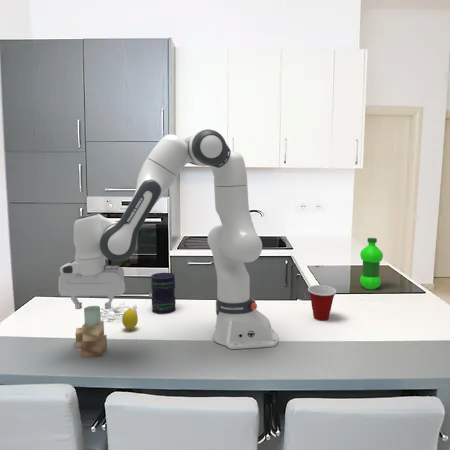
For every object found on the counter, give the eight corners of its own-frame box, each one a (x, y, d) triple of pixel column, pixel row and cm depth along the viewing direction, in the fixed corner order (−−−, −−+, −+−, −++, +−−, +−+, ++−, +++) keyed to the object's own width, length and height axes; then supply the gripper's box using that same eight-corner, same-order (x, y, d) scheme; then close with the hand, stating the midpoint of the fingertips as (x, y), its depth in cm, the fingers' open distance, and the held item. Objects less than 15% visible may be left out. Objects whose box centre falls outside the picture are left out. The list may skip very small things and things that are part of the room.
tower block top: (104, 335, 132) (103, 320, 132) (98, 341, 128) (97, 326, 127) (89, 335, 133) (88, 320, 132) (82, 341, 128) (82, 325, 127)
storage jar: (173, 305, 178) (172, 271, 176) (177, 312, 168) (177, 277, 167) (150, 307, 175) (149, 273, 173) (153, 315, 165) (152, 279, 163)
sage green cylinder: (102, 320, 132) (102, 305, 131) (97, 326, 127) (96, 310, 126) (88, 320, 132) (87, 305, 131) (82, 326, 127) (81, 310, 126)
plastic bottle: (355, 288, 203) (357, 238, 200) (365, 284, 211) (367, 236, 207) (374, 292, 196) (376, 240, 193) (384, 288, 203) (387, 238, 200)
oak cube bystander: (92, 340, 141) (91, 326, 140) (92, 346, 136) (91, 331, 136) (76, 342, 139) (76, 328, 139) (76, 348, 135) (75, 333, 134)
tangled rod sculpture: (79, 324, 159) (78, 314, 158) (94, 309, 173) (93, 300, 172) (127, 324, 157) (127, 314, 156) (138, 309, 171) (138, 300, 171)
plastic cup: (310, 323, 156) (311, 292, 154) (304, 313, 167) (305, 285, 165) (339, 323, 156) (340, 292, 155) (330, 313, 167) (331, 284, 165)
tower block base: (107, 349, 134) (106, 334, 133) (100, 357, 128) (99, 342, 127) (89, 349, 134) (88, 334, 133) (81, 357, 128) (80, 342, 127)
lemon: (131, 325, 154) (131, 305, 153) (141, 329, 150) (140, 308, 149) (119, 330, 150) (118, 309, 149) (128, 333, 146) (128, 312, 145)
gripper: (126, 263, 130) (128, 305, 131) (63, 263, 131) (66, 305, 132) (120, 267, 123) (122, 312, 125) (54, 268, 124) (57, 312, 126)
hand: (93, 308), depth 129 cm, fingers open, 8 cm apart
